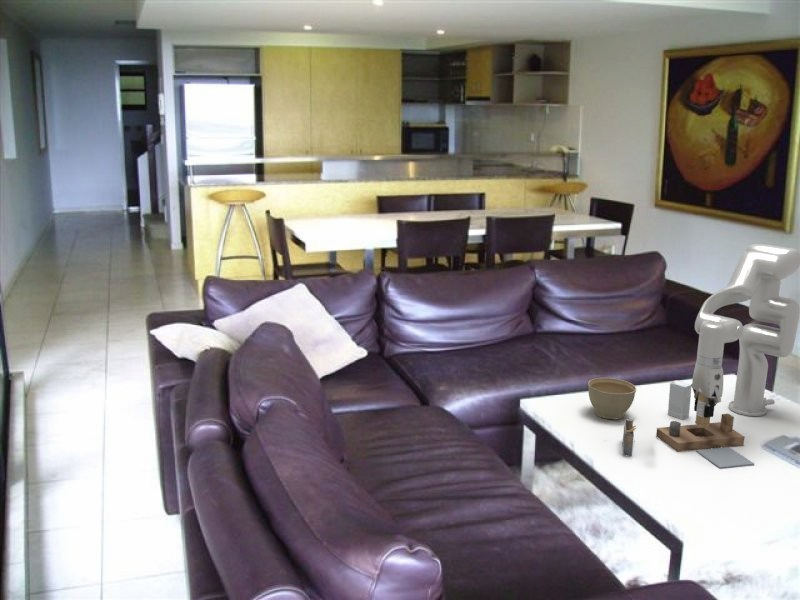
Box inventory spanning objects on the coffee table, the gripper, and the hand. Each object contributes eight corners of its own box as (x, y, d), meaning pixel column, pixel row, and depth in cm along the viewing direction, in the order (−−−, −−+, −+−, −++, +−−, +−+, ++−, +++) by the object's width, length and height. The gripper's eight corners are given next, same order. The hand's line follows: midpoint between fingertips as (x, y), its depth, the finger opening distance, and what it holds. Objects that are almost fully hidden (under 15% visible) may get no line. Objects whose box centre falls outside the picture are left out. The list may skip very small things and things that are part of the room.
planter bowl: (626, 427, 265) (629, 397, 262) (579, 417, 273) (582, 387, 270) (638, 411, 279) (641, 382, 276) (593, 402, 286) (595, 374, 284)
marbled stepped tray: (633, 457, 244) (636, 428, 241) (622, 456, 244) (625, 427, 242) (632, 442, 254) (635, 414, 252) (622, 441, 255) (625, 413, 253)
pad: (729, 448, 251) (729, 446, 250) (754, 465, 239) (754, 463, 239) (695, 451, 248) (696, 450, 248) (719, 468, 236) (719, 467, 236)
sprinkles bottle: (702, 420, 258) (706, 381, 254) (713, 425, 254) (717, 386, 250) (691, 423, 256) (695, 384, 252) (702, 428, 252) (706, 388, 248)
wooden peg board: (720, 430, 264) (723, 408, 262) (743, 445, 253) (746, 422, 251) (656, 436, 258) (658, 413, 256) (677, 452, 247) (679, 428, 245)
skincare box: (689, 417, 275) (693, 384, 272) (682, 420, 272) (685, 387, 269) (673, 411, 279) (677, 379, 276) (666, 414, 277) (669, 382, 274)
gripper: (736, 368, 242) (730, 423, 247) (703, 350, 258) (698, 402, 263) (715, 370, 240) (709, 425, 245) (683, 352, 256) (678, 404, 261)
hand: (703, 413), depth 254 cm, fingers closed on sprinkles bottle, 4 cm apart
